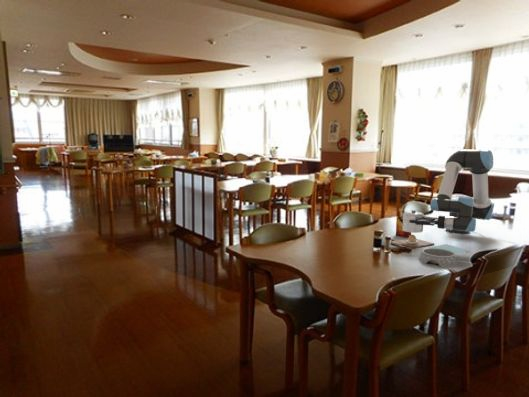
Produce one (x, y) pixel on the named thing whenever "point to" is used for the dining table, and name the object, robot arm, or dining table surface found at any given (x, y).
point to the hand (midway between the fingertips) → (406, 218)
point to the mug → (399, 228)
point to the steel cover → (410, 226)
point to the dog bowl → (438, 257)
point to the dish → (412, 240)
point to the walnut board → (413, 246)
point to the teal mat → (450, 248)
